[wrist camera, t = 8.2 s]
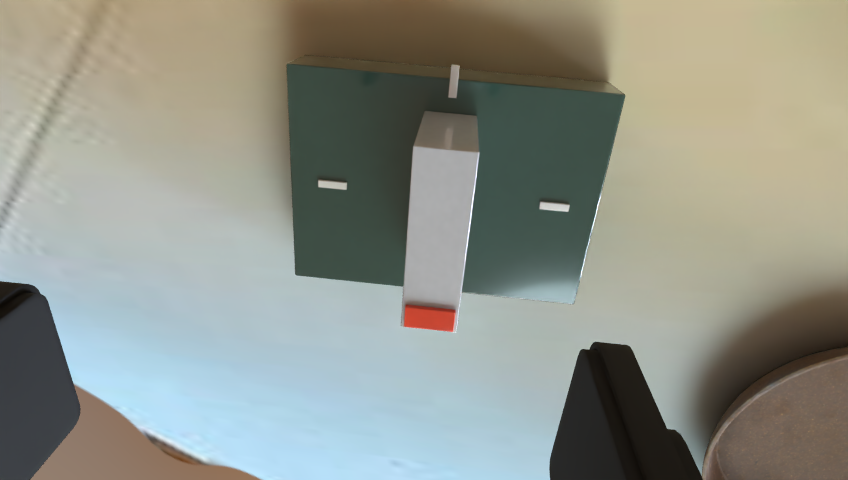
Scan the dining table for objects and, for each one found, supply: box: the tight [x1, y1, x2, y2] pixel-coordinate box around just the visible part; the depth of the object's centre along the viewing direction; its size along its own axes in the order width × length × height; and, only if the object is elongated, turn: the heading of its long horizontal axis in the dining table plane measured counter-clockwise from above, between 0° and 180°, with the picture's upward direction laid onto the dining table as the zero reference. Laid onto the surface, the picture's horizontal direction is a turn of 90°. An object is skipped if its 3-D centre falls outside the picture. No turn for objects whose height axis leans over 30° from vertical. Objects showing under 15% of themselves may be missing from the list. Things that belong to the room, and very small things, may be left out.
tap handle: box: [401, 111, 479, 332], centre depth 23 cm, size 8×2×6 cm, turn 176°
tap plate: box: [286, 55, 625, 304], centre depth 27 cm, size 15×12×3 cm
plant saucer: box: [702, 347, 848, 480], centre depth 33 cm, size 18×18×3 cm
